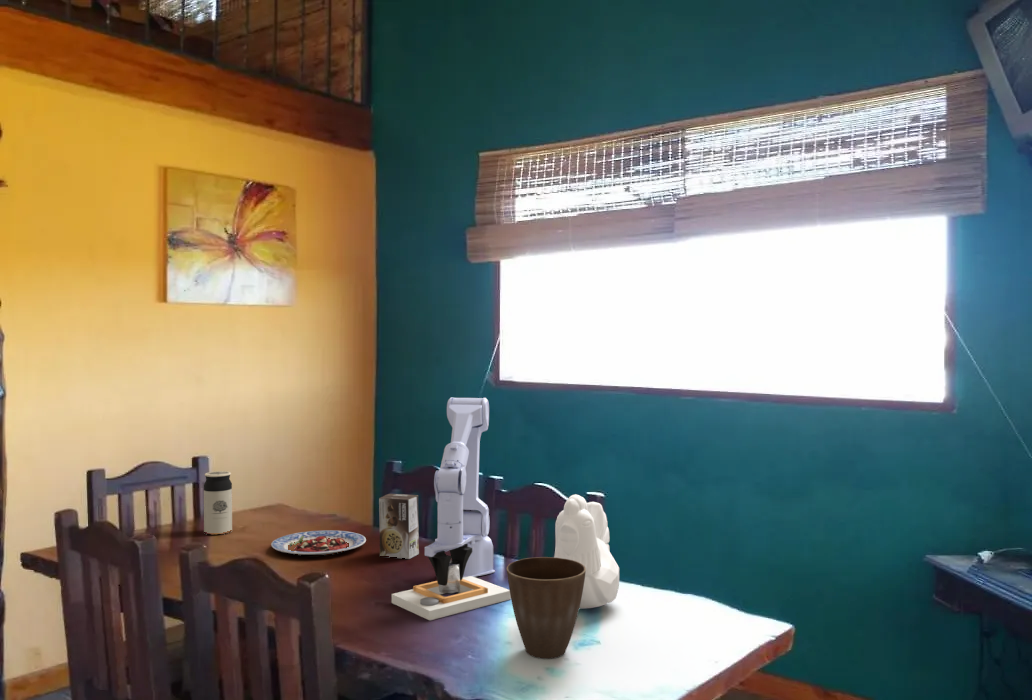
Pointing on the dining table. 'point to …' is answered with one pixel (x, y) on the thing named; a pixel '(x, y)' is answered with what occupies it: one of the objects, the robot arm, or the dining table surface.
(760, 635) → the dining table surface
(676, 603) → the dining table surface
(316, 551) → the ceramic plate
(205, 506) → the travel mug
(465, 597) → the white flat frame
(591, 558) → the decorative rooster
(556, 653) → the plant pot
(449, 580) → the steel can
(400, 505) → the coffee box
